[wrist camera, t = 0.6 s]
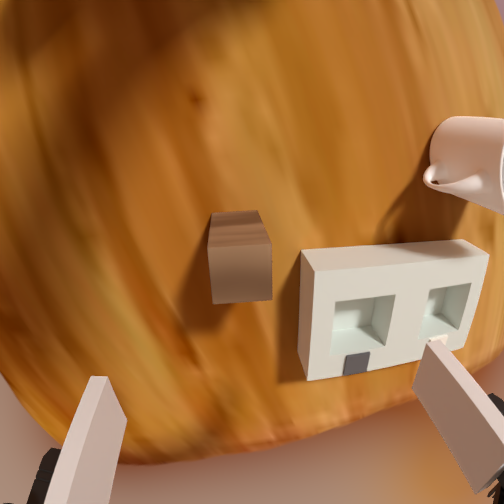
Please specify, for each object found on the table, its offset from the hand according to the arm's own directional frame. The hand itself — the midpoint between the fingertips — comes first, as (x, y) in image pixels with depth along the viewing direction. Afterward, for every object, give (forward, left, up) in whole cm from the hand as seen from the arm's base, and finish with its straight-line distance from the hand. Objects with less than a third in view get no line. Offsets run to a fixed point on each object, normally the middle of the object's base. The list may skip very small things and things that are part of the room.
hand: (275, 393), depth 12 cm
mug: (-8, +21, -19) cm, 30 cm away
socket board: (+7, +15, -19) cm, 25 cm away
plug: (-1, -1, -19) cm, 19 cm away
